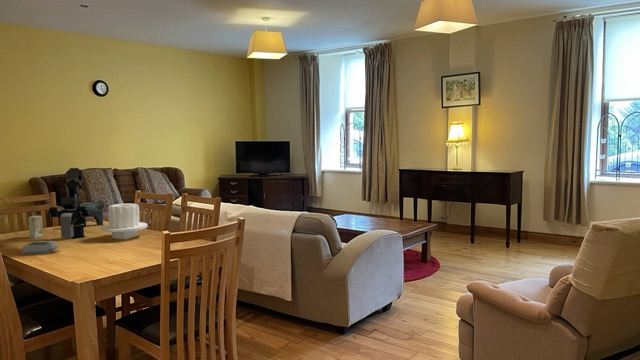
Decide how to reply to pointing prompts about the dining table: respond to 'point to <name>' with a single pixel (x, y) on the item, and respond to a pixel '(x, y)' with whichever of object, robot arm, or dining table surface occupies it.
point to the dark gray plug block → (66, 226)
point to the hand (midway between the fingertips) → (66, 224)
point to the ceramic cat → (95, 210)
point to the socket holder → (39, 248)
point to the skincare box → (35, 226)
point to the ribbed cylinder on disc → (123, 221)
